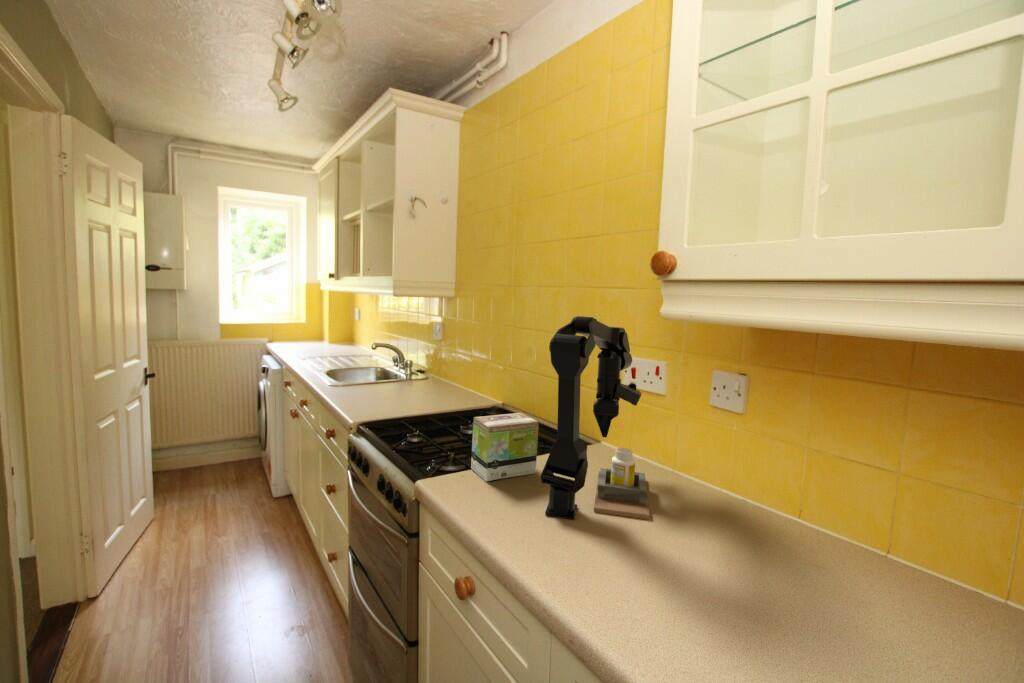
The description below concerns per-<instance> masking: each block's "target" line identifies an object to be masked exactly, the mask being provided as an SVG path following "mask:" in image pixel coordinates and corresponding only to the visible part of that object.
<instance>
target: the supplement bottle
mask: <svg viewBox="0 0 1024 683" xmlns="http://www.w3.org/2000/svg"><path fill="white" fill-rule="evenodd" d="M614 452H615V453H614V454H615V455H614V456H612V458H611V463H610V464H611V483H610V484H613V485H620V486H628V487H634V473H635V472H636V471H635V470H636V460H635V458H633V450H631V449H630V448H625V447H617V448H616V449H615V451H614Z"/></svg>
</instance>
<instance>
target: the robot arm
mask: <svg viewBox="0 0 1024 683" xmlns="http://www.w3.org/2000/svg"><path fill="white" fill-rule="evenodd" d="M577 334H578V335H577ZM629 341H630V340H629V337H628V333H627V331H626V329H625V328H624V327H621V326H619V327H617V326H609V325H606V324H604V323H603V322H600V321H599V320H597V318H595V317H593V316H592V317H591V316H578V315H577V316H574V317H573V318H572V319H571V321H570V322H568V323H567V324H565V325H564V326H561V328H559V329H557V331H556V332H555V334H554V335H553V336H552V338H551V339H550V342H549V347H548V349H549V353H550V363H551V365H552V367H553V369H554V371H555V372H556V374H557V376H558V377H557V383H558V384H557V429H556V430H557V431H556V432H557V434H556V440H555V441H554V442H553V444H552V446H551V448H549V455H548V457H547V459H546V462H545V465H544V467H543V470H542V472H541V474H540V483H541V484H542V485H548V486H549V493H548V494H549V496H548V497H549V498H548V503H547V506H546V510H545V511H544V515H545V516H548V517H554V518H555V517H556V518H561V519H569V520H575V518H576V514H577V511H578V504H577V503H576V494H577V493H578V492H579V491H580V490H582V489H583V488H584V487H585V485H586V484H585V483H586V477H587V473H588V466H589V462H588V455H587V454H588V445H587V443H586V442H584V441H582V439H581V438H580V416H581V415H580V414H581V412H580V411H581V410H580V409H581V408H580V407H581V377H582V376H581V375H582V373H583V372H584V370H585V369H586V368H587V366H588V364H589V360H590V356H591V355H592V352H593V351H594V349H595V347H596V346H597V347H598V349H599V350H600V352H598V354H597V359H598V365H597V366H598V367H597V378H596V395H595V399H596V400H594V402H593V404H592V405H593V409H592V412H593V415H594V417H595V419H596V422H597V426H598V428H599V431H600V434H601V436H602V438H608V435H609V430H610V428H611V424H612V420H614V419H615V418H616V417H618V416H619V414H620V413H619V412H620V411H619V410H620V404H619V403H620V399H622V400H623V401H625V402H628V403H630V404H631V405H633V406H637V405H638V404H639V401H640V399H641V397H642V392H641V391H640V390H638V389H637V384H636V383H633V382H630V383H628V385H627V384H623V383H621V382H622V379H621V371H624V370H626V369H628V368H629V367H631V365H632V364H633V357H632V355H631V353H630V352H631V347H630V342H629ZM555 474H556V475H555ZM559 475H561V476H559ZM567 477H568V478H567ZM570 478H571V479H570Z"/></svg>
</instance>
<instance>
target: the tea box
mask: <svg viewBox="0 0 1024 683" xmlns="http://www.w3.org/2000/svg"><path fill="white" fill-rule="evenodd" d="M472 423H473V425H472V438H471V439H472V440H471V441H472V442H471V458H470V460H471V462H470V463H471V465H470V468H471V469H472V471H473V472H475V474H476V475H478V476H479V478H481V479H482V480H484V481H485V482H486V483H487V482H491V481H495V480H500V479H507V478H513V477H514V478H515V477H520V476H526V475H527V476H528V475H533V474H536V469H537V457H538V442H539V441H538V440H539V439H538V438H539V425H540V424H539V421H538V420H537V419H534V418H532V417H531V416H529V415H526V414H524V413H522V412H513V413H505V414H503V413H502V414H495V415H494V414H493V415H492V414H491V415H485V416H484V415H483V416H481V415H480V416H474V417H473V422H472Z"/></svg>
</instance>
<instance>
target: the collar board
mask: <svg viewBox="0 0 1024 683" xmlns="http://www.w3.org/2000/svg"><path fill="white" fill-rule="evenodd" d="M597 476H598V477H597V483H596V491H595V498H594V504H593V513H599V514H606V515H613V516H621V517H628V518H633V519H642V520H647V521H649V520H650V509H649V500H648V499H649V498H648V489H647V482H646V481H647V480H646V479H647V478H646V473H643V472H636V471H635V473H634V487H628V486H620V485H613V484H610V483H611V469H609V468H604V467H603V468H602V467H600V470H599V471H598V475H597Z"/></svg>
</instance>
